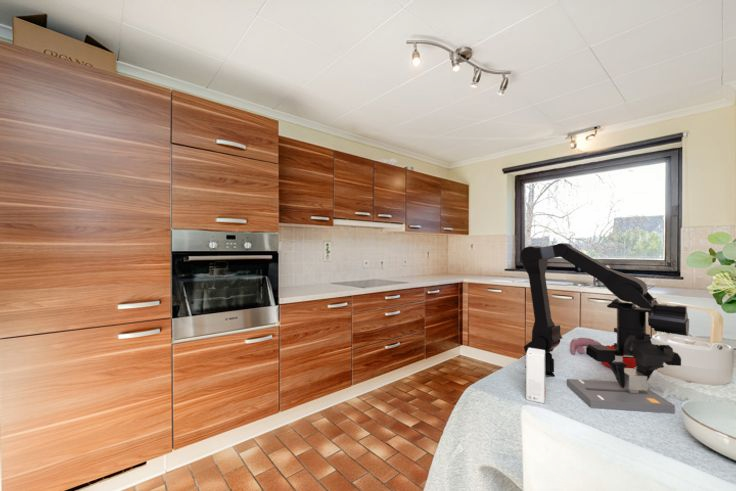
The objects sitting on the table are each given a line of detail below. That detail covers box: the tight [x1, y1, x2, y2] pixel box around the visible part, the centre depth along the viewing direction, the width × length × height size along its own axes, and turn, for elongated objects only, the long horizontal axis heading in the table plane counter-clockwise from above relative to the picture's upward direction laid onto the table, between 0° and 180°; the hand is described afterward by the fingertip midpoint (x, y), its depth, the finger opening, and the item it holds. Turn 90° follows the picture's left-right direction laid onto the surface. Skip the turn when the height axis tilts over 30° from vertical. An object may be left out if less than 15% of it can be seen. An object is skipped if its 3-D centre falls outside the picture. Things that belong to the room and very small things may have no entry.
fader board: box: [566, 378, 676, 415], centre depth 80 cm, size 18×12×2 cm, turn 81°
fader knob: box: [624, 368, 648, 393], centre depth 79 cm, size 4×5×5 cm
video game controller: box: [569, 337, 602, 356], centre depth 112 cm, size 10×5×7 cm, turn 59°
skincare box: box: [525, 348, 546, 404], centre depth 81 cm, size 6×4×12 cm
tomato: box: [601, 344, 636, 369], centre depth 100 cm, size 10×11×7 cm
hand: (631, 387), depth 79 cm, fingers closed on fader knob, 4 cm apart
